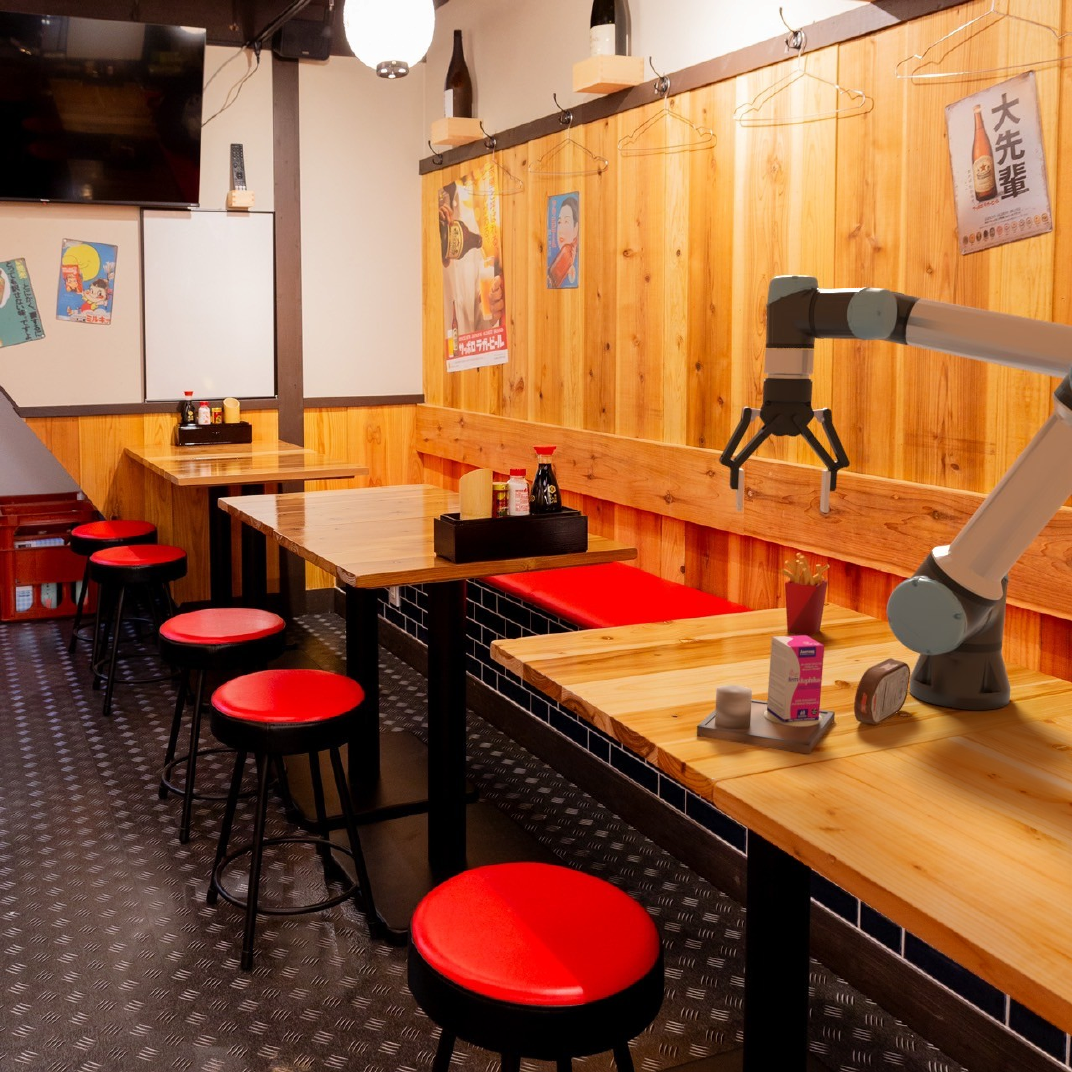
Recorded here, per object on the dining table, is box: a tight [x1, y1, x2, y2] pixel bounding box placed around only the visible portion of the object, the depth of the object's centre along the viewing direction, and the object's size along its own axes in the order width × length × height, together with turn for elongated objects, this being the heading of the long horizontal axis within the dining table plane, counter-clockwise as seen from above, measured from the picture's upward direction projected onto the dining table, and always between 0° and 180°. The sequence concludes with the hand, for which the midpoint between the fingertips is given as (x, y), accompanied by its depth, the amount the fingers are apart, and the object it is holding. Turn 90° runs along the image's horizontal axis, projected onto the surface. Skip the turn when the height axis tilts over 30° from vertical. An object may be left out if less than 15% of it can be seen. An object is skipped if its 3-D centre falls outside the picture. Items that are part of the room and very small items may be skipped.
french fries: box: [780, 552, 831, 637], centre depth 224 cm, size 9×8×15 cm
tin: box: [853, 657, 911, 726], centre depth 174 cm, size 15×3×8 cm, turn 141°
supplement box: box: [766, 634, 825, 722], centre depth 169 cm, size 6×6×12 cm
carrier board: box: [696, 684, 836, 755], centre depth 168 cm, size 16×16×6 cm
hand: (781, 511), depth 186 cm, fingers open, 13 cm apart
